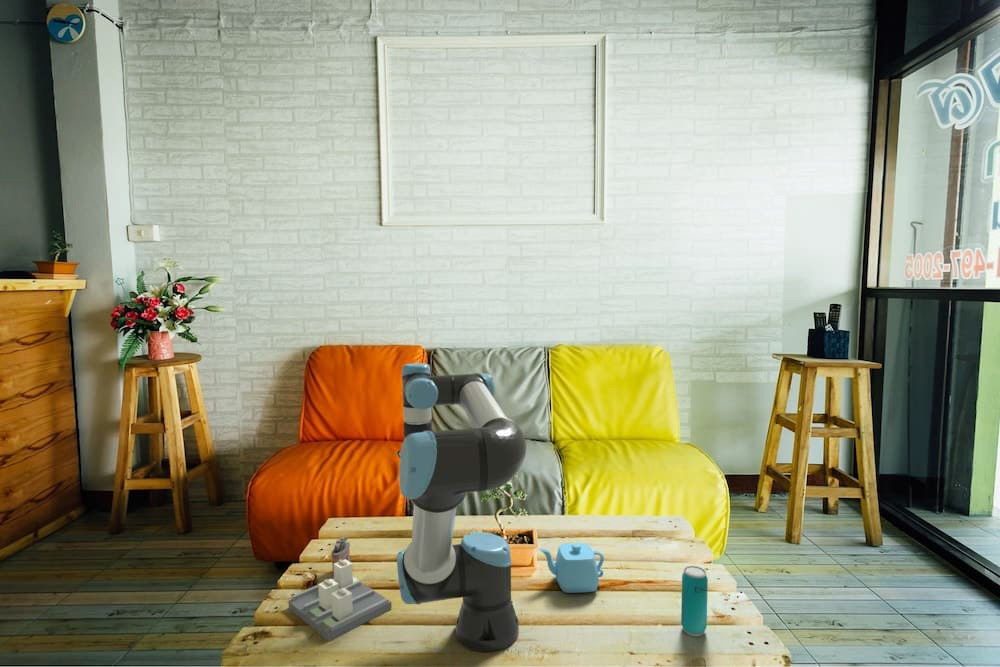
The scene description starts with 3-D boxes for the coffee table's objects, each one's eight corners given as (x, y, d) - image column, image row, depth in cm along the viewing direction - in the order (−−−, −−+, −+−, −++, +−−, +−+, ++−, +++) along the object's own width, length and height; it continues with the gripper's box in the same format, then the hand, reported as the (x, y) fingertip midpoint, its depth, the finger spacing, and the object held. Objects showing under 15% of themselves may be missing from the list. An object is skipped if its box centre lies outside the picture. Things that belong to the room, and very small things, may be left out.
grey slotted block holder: (391, 609, 147) (391, 598, 146) (328, 641, 134) (327, 629, 133) (349, 581, 160) (349, 571, 160) (288, 608, 147) (288, 597, 147)
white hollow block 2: (352, 614, 140) (352, 590, 140) (339, 621, 138) (338, 596, 137) (345, 609, 143) (344, 585, 142) (332, 615, 140) (331, 591, 140)
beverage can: (711, 635, 134) (713, 575, 133) (690, 640, 133) (691, 579, 131) (696, 621, 140) (697, 563, 138) (676, 626, 138) (677, 567, 137)
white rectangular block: (339, 604, 145) (338, 581, 144) (326, 610, 142) (325, 586, 142) (331, 599, 147) (330, 576, 147) (319, 605, 145) (318, 581, 144)
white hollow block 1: (353, 583, 155) (352, 561, 154) (341, 588, 152) (340, 566, 152) (345, 578, 157) (345, 557, 157) (334, 583, 155) (333, 561, 154)
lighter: (340, 580, 161) (339, 546, 160) (329, 579, 162) (328, 545, 161) (353, 566, 169) (352, 534, 168) (342, 565, 170) (341, 533, 169)
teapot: (536, 574, 163) (536, 536, 162) (598, 572, 164) (598, 534, 163) (542, 598, 151) (542, 557, 150) (609, 595, 152) (609, 554, 151)
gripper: (426, 415, 159) (428, 497, 161) (389, 423, 150) (392, 511, 151) (444, 418, 155) (446, 503, 156) (408, 427, 145) (410, 517, 146)
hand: (419, 506), depth 154 cm, fingers closed
